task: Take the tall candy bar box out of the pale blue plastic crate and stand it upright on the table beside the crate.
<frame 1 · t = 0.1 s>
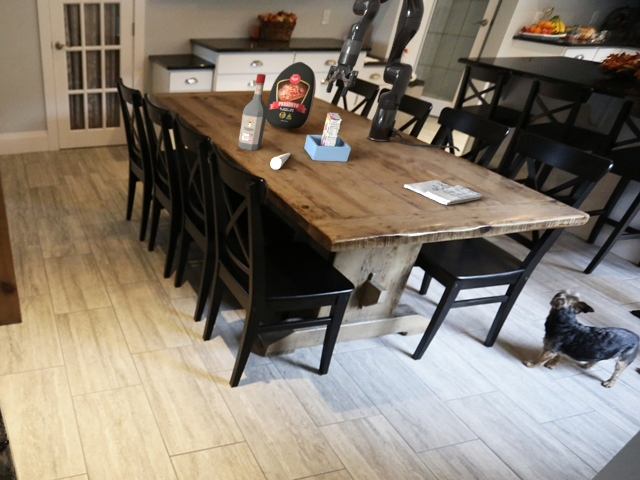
hand: (335, 94, 217), 23 cm above the table, tool pointing down, fingers open, 8 cm apart
folded newspaper: (440, 193, 187), on the table
candy bar box: (324, 155, 222), resting in crate
unicorn horn: (281, 162, 212), on the table
liquor: (249, 147, 228), on the table
packaged food: (284, 129, 255), on the table
crate: (324, 154, 222), on the table
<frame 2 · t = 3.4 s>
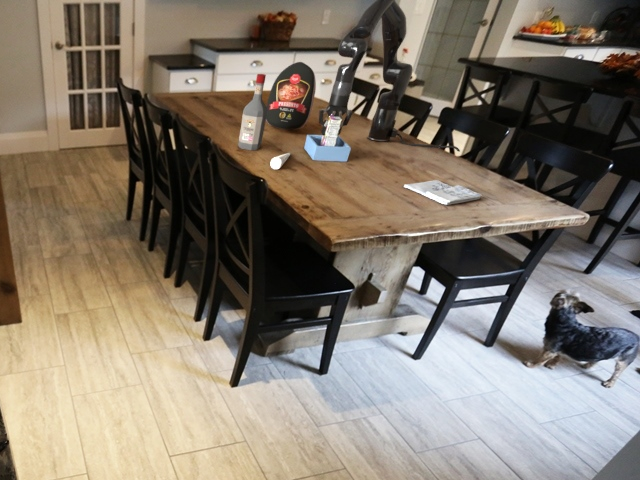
hand: (329, 135, 217), 8 cm above the table, tool pointing down, fingers closed on candy bar box, 5 cm apart
candy bar box: (324, 155, 222), resting in crate, touching gripper
everything else where it was.
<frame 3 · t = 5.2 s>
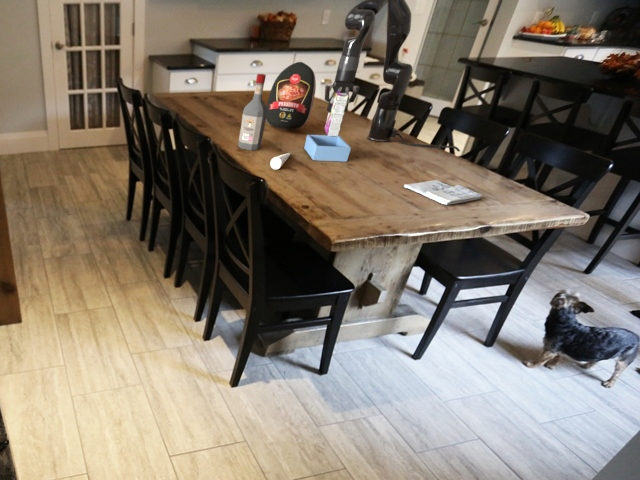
hand: (336, 112, 211), 18 cm above the table, tool pointing down, fingers closed on candy bar box, 5 cm apart
candy bar box: (330, 133, 216), point 9 cm above the table, touching gripper
everything else where it was.
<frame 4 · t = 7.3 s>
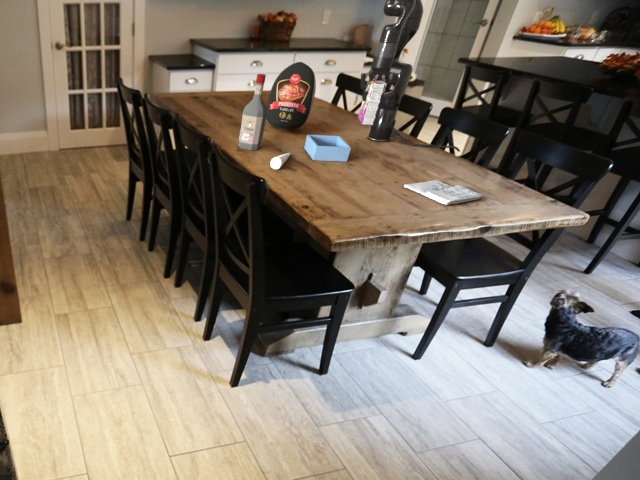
hand: (371, 100, 209), 23 cm above the table, tool pointing down, fingers closed on candy bar box, 5 cm apart
candy bar box: (364, 122, 214), point 14 cm above the table, touching gripper
everything else where it was.
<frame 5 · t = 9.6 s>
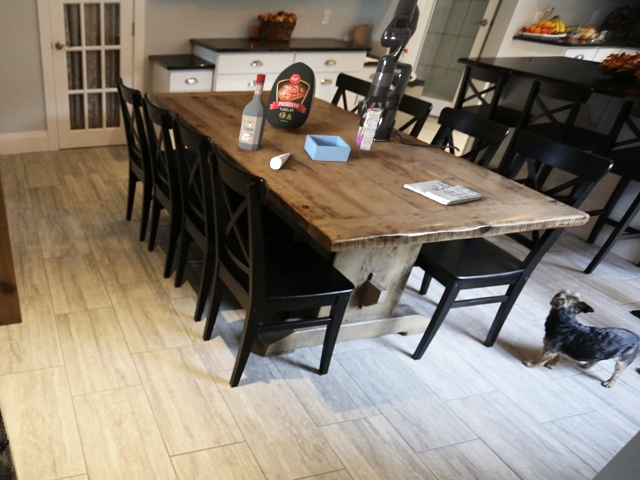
hand: (368, 126, 215), 12 cm above the table, tool pointing down, fingers closed on candy bar box, 5 cm apart
candy bar box: (361, 147, 221), point 3 cm above the table, touching gripper
everything else where it was.
when the fingers open (8 cm above the table, at t = 11.1 s): candy bar box stays where it is, on the table.
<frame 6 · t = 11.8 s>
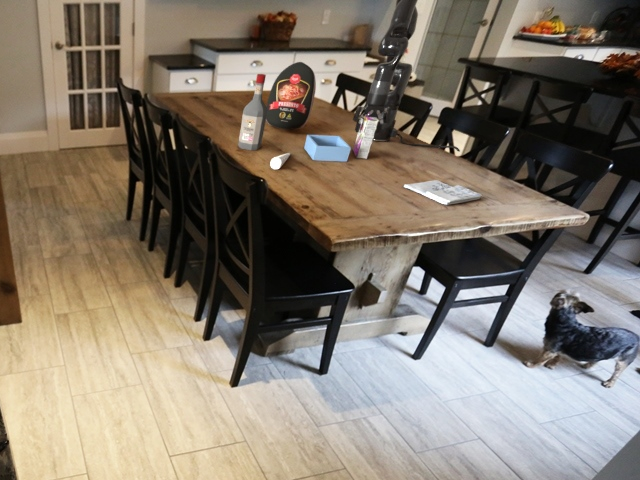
hand: (366, 132, 217), 10 cm above the table, tool pointing down, fingers open, 8 cm apart
candy bar box: (359, 155, 223), on the table
everything else where it was.
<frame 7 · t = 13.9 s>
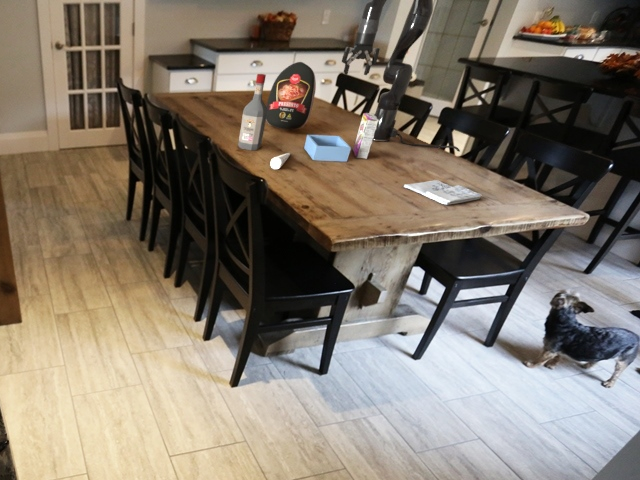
hand: (355, 74, 217), 30 cm above the table, tool pointing down, fingers open, 8 cm apart
nothing on the table moved.
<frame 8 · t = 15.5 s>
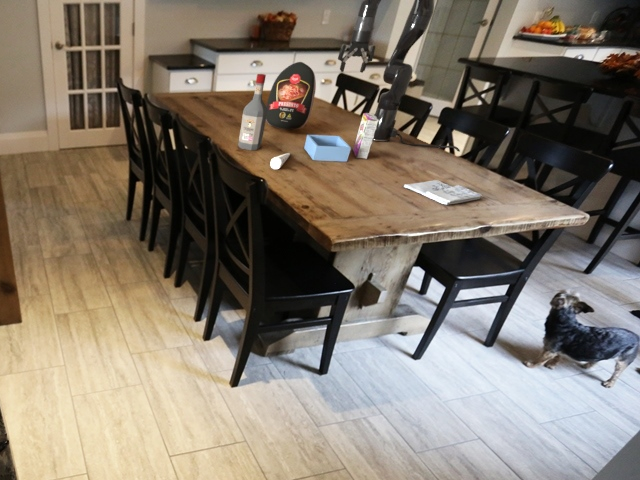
hand: (351, 72, 219), 30 cm above the table, tool pointing down, fingers open, 8 cm apart
nothing on the table moved.
at the end: candy bar box inside the target area (0.1 cm from its centre), on the table; candy bar box tilted 0°; the gripper is holding nothing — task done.
